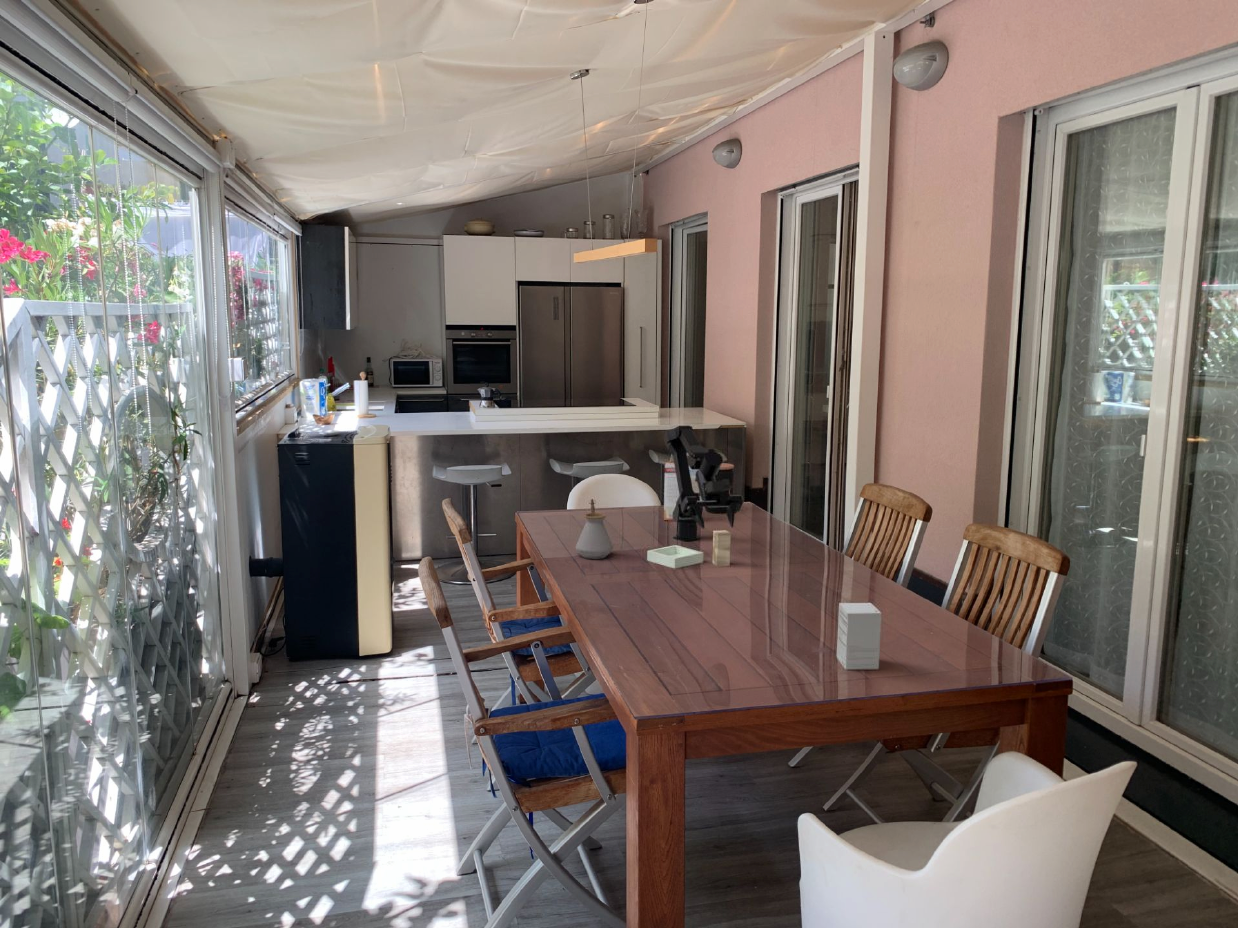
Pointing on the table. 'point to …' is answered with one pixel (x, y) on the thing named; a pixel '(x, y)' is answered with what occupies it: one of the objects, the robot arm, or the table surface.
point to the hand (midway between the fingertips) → (718, 527)
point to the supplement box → (858, 636)
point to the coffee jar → (725, 473)
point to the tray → (675, 556)
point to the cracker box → (674, 489)
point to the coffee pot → (594, 536)
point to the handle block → (721, 548)
